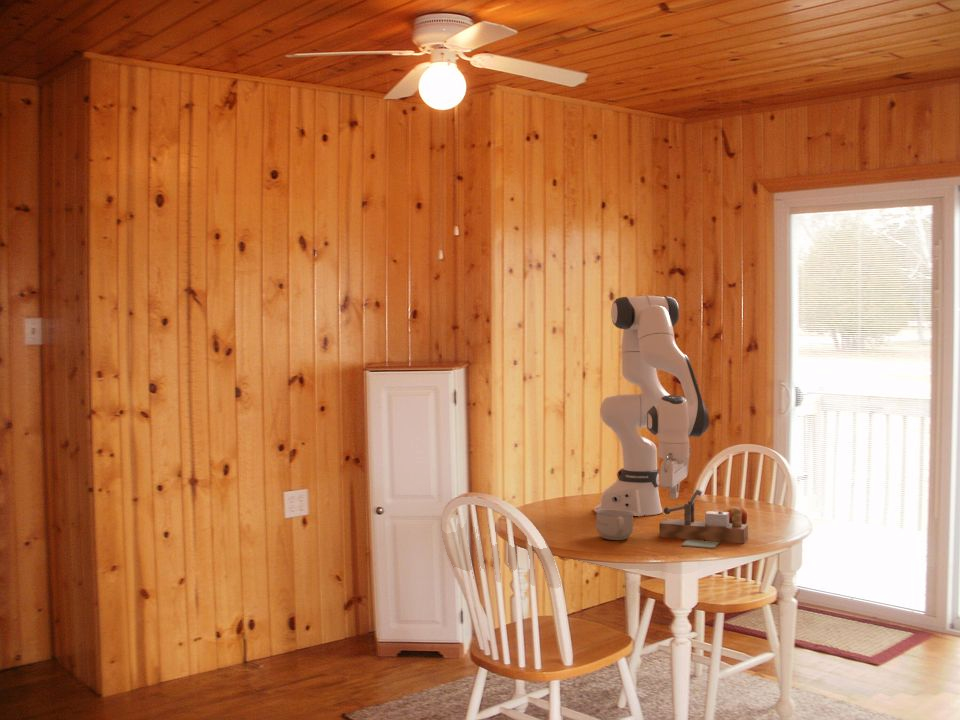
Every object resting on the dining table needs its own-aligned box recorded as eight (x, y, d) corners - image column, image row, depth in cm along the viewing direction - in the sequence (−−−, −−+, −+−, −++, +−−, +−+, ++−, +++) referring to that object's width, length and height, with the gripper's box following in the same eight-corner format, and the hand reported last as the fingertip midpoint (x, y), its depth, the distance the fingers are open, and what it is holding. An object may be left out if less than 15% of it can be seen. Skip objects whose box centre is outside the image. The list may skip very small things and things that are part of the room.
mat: (681, 546, 265) (681, 544, 265) (687, 540, 271) (687, 539, 271) (714, 548, 261) (714, 547, 261) (719, 543, 268) (719, 541, 268)
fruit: (737, 529, 279) (727, 503, 282) (721, 538, 285) (711, 513, 289) (757, 526, 283) (747, 501, 286) (741, 535, 289) (732, 511, 292)
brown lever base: (659, 537, 277) (659, 502, 277) (665, 532, 283) (665, 498, 283) (743, 543, 267) (743, 508, 266) (747, 538, 273) (747, 503, 273)
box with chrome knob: (705, 525, 272) (705, 512, 272) (708, 522, 276) (708, 509, 276) (726, 527, 270) (726, 513, 270) (729, 524, 274) (729, 510, 274)
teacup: (596, 534, 282) (595, 507, 282) (633, 534, 281) (632, 507, 281) (597, 545, 268) (596, 516, 268) (636, 545, 267) (635, 517, 267)
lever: (682, 525, 276) (661, 512, 278) (684, 523, 279) (664, 510, 281) (701, 492, 273) (679, 479, 276) (703, 490, 276) (682, 477, 279)
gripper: (676, 457, 267) (676, 506, 268) (692, 446, 286) (692, 492, 286) (654, 456, 270) (654, 504, 271) (671, 445, 288) (671, 490, 289)
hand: (674, 498), depth 279 cm, fingers closed
